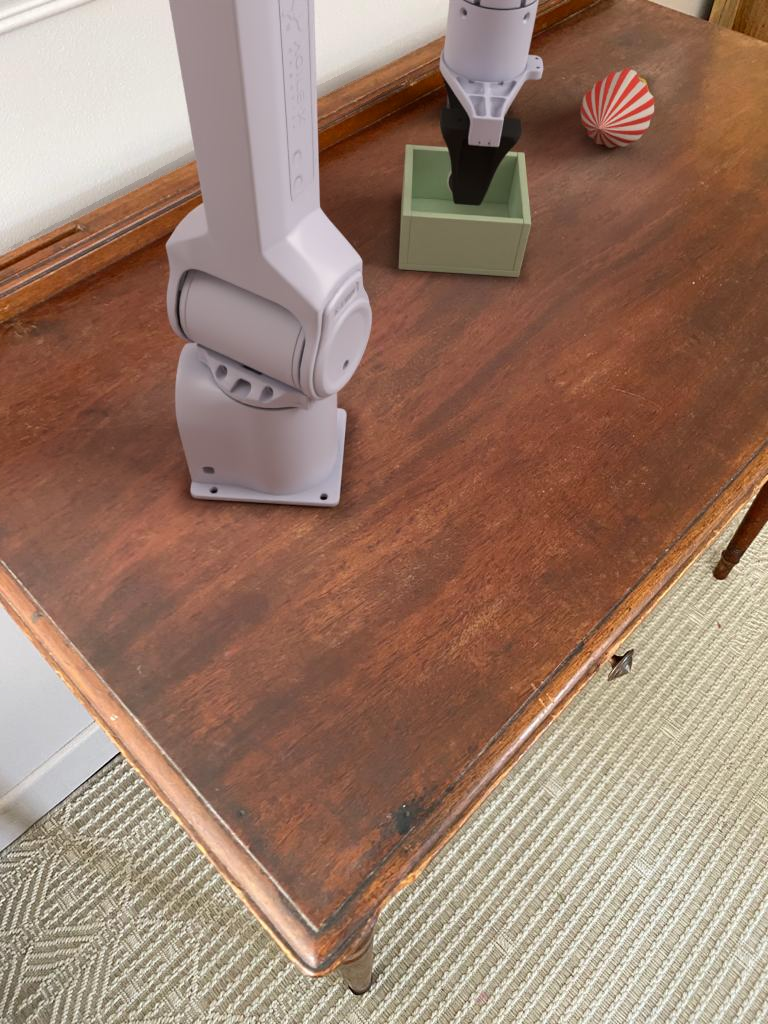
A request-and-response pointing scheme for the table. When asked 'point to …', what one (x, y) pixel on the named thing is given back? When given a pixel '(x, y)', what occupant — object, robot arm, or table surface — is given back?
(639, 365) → the table surface
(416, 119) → the table surface
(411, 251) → the bin
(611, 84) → the striped christmas ornament
